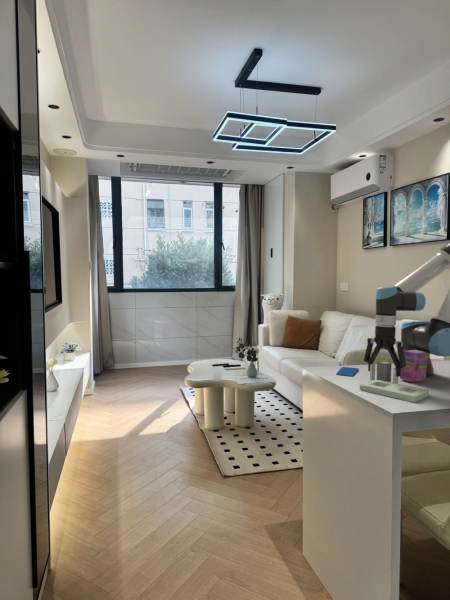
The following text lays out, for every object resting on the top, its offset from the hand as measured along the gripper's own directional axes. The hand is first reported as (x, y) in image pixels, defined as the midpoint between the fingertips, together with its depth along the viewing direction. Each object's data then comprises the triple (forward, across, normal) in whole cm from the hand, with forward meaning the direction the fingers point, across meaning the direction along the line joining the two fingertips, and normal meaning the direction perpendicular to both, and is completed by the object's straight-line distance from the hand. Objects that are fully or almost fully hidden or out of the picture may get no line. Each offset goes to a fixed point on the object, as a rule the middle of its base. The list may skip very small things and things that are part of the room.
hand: (383, 382), depth 156 cm
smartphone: (+1, -19, +5) cm, 20 cm away
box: (0, +6, +13) cm, 14 cm away
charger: (0, 0, 0) cm, 0 cm away
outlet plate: (0, +9, -11) cm, 14 cm away
